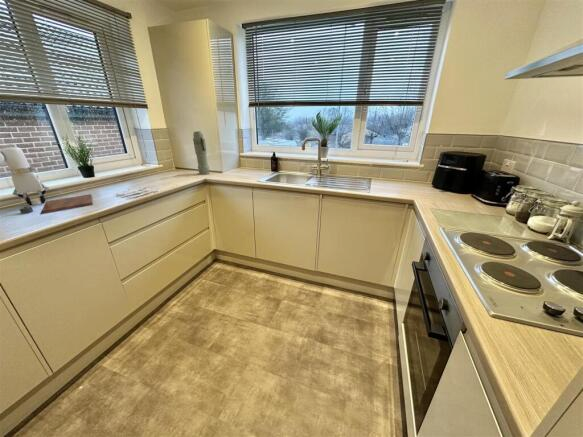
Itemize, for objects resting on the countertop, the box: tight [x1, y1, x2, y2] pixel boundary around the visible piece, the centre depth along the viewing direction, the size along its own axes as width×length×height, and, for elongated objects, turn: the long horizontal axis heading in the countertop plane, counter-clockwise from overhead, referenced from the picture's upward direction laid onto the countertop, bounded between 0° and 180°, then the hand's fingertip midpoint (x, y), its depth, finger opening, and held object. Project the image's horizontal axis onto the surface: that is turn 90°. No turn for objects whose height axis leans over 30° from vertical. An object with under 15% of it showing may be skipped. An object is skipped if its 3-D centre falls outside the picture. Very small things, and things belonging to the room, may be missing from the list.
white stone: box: [30, 197, 43, 206], centre depth 134 cm, size 4×4×4 cm
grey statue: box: [192, 130, 210, 176], centre depth 203 cm, size 9×12×35 cm
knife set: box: [114, 181, 178, 199], centre depth 161 cm, size 26×35×1 cm
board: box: [39, 193, 94, 215], centre depth 136 cm, size 22×22×2 cm
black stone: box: [18, 205, 34, 215], centre depth 121 cm, size 4×4×4 cm
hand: (37, 203), depth 134 cm, fingers open, 4 cm apart
